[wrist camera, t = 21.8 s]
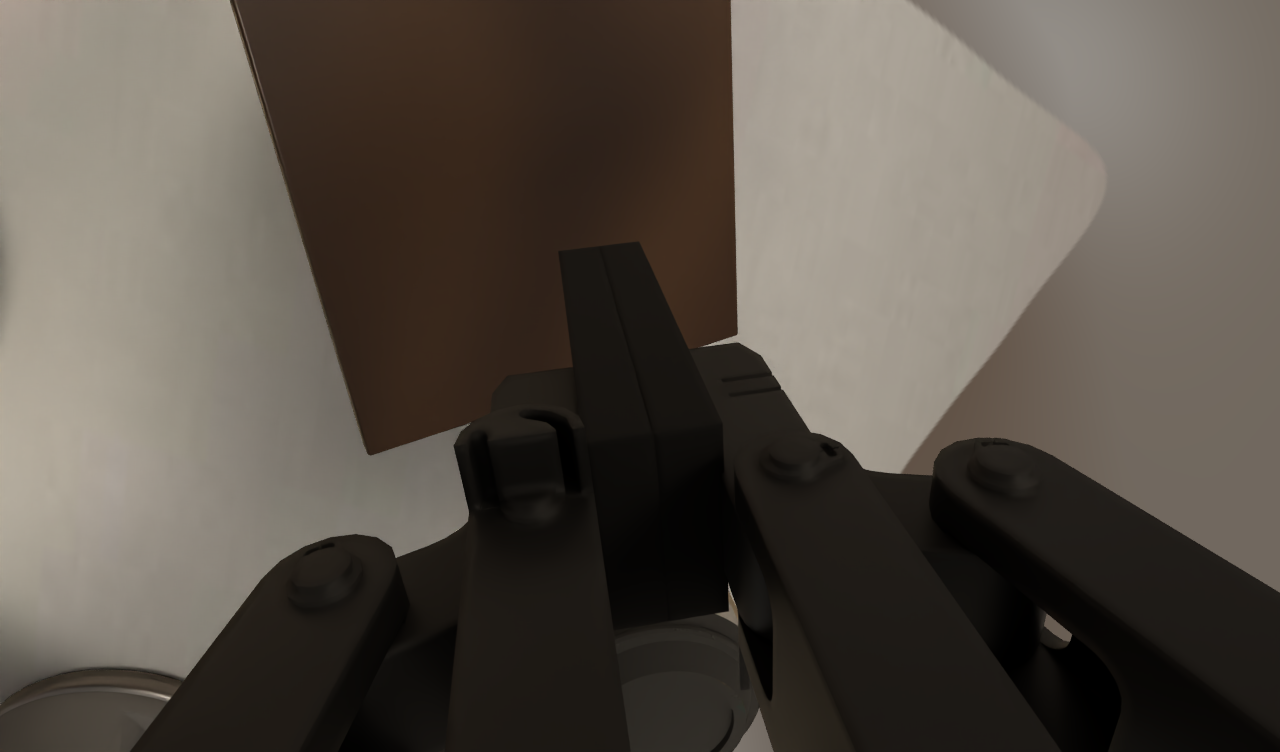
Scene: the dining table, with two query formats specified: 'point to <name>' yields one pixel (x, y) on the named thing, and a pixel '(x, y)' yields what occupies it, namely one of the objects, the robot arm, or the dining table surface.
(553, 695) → the robot arm
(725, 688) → the coffee cup
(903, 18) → the dining table surface
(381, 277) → the lid
